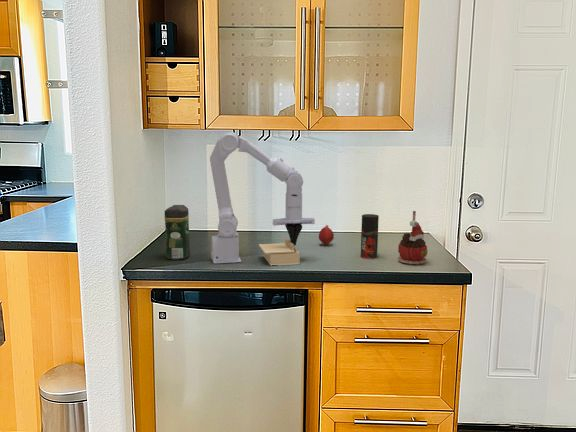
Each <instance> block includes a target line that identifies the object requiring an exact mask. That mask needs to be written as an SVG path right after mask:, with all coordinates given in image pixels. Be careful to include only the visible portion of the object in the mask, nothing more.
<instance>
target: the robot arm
mask: <svg viewBox="0 0 576 432" xmlns="http://www.w3.org/2000/svg"><path fill="white" fill-rule="evenodd" d="M237 149H238V151H237ZM234 151H237V152H238V153H239V152H240V153H247V154H249V155H250V156H252V157H253V158H254V159H256V160H257V161H259V162H260V163H261V164H263V165H265V166H266V167H265V168H266V171H267V172H268V173H269V174H271V175H272V176H273V177H274V178H276V179H277V180H279V181H280V182H284V183H285V186H286V189H285V190H286V191H285V211H284V213H285V217H283V218H272V226H274V227H276V226H284V227H285V229H286V230H287V233H288V236H289V240H290V241H291V242H292V243H293V244H294V247H295V246H297V241H298V237H299V236H300V233H301V231H302V229H303V225H315V222H316V221H315V218H314V217H303V188H302V187H303V185H304V178H303V177H302V175H301V173H300V172H299V171H298V170H295V168H294V167H293V166H292V167H291V166H290V165H288V164H287V163H285V162H284V158H281V157H275V156H274V157H271V156H269V155H268V153H265V152H264V151H263V150H262V149H260V148H259V147H257V146H256V145H255V144H254V143H252V142H251V141H250V140H248V139H246V138H245V137H243V136H240V135H238V134H237V133H236V132H234V131H228V132H225V133H224V134H222V136H220V138H218V139H217V141H216V143H215V146H214V147H213V149H212V152H211V154H210V156H209V162H210V167H211V169H210V170H211V173H212V180H213V186H214V191H215V196H216V203H217V208H218V220H219V222H218V224H217V230H218V233H217V235H212V236H211V252H210V253H211V254H210V257H211V260H212V262H213V264H231V263H232V264H233V263H242V259H241V257H240V254H239V252H240V251H239V250H240V249H239V247H240V244H239V242H240V241H239V239H240V238H239V234H240V233H239V232H237V229H238V228H237V227H238V224H239V223H238V222H239V221H238V219H237V217H236V215H235V214H234V210H233V209H234V208H233V206H232V205H233V204H232V200H231V195H230V194H231V193H230V188H229V182H228V177H227V171H226V170H227V169H226V164H225V161H226V160H227V158H228V157H229V155H231V154H232V153H233V152H234Z"/></svg>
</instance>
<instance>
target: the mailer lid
mask: <svg viewBox="0 0 576 432" xmlns="http://www.w3.org/2000/svg"><path fill="white" fill-rule="evenodd" d="M284 239H285V240H284V242H281V243H259V244H258V246H259V248H260V249H261V251H262V252H263V254H264V253H265V254H272V253H291V252H295V251H294V248H295V246H294V244H293V243H292V242H291V241H290V238H287V237H286V238H284Z"/></svg>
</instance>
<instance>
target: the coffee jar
mask: <svg viewBox="0 0 576 432" xmlns="http://www.w3.org/2000/svg"><path fill="white" fill-rule="evenodd" d="M189 219H190V217H189V208H188V207H187V206H186V205H185V204H173V205H172V206H169V207H167V208H166V209H165V210H164V226H165V227H164V228H165V249H166V250H165V257H166V258H167V259H168V260H172V261H179V260H185V259H187V258H188V257H189V256H190V254H191V249H190V248H191V247H190V244H191V243H190V226H189V225H190V223H189V222H190V221H189Z"/></svg>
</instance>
